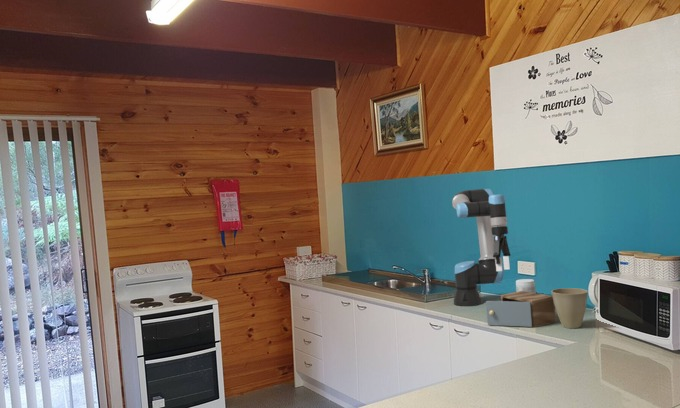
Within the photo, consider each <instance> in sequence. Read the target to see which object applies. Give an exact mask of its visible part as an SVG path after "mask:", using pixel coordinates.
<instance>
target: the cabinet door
mask: <svg viewBox="0 0 680 408" xmlns="http://www.w3.org/2000/svg"><path fill="white" fill-rule="evenodd" d="M485 306H486V319H487V320H486V321H487V325H488V326H506V327H508V326H510V327H528V328H531V327H532V317H531V304H530V302H512V301H501V300H486V301H485ZM532 328H533V327H532Z"/></svg>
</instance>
